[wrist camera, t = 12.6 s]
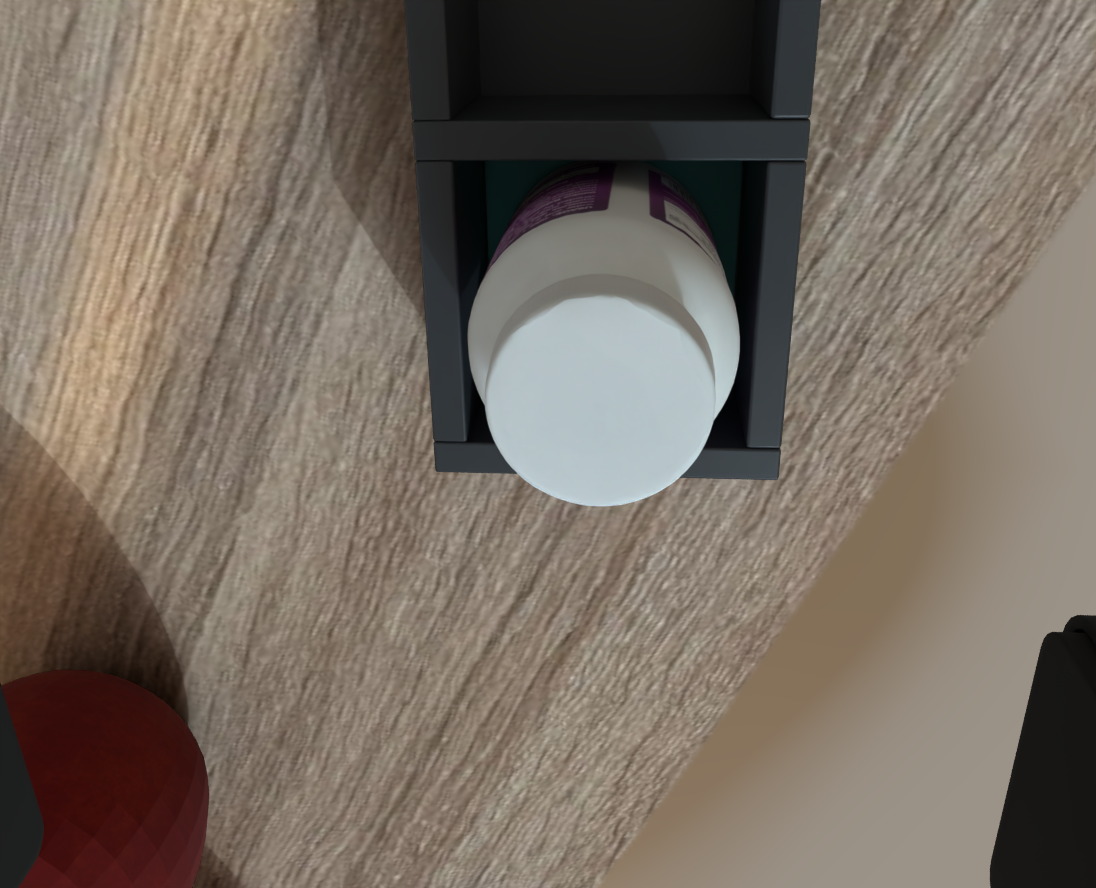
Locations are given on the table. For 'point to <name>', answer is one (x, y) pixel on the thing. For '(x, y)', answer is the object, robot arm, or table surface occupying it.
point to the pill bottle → (604, 334)
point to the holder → (614, 135)
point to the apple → (109, 782)
